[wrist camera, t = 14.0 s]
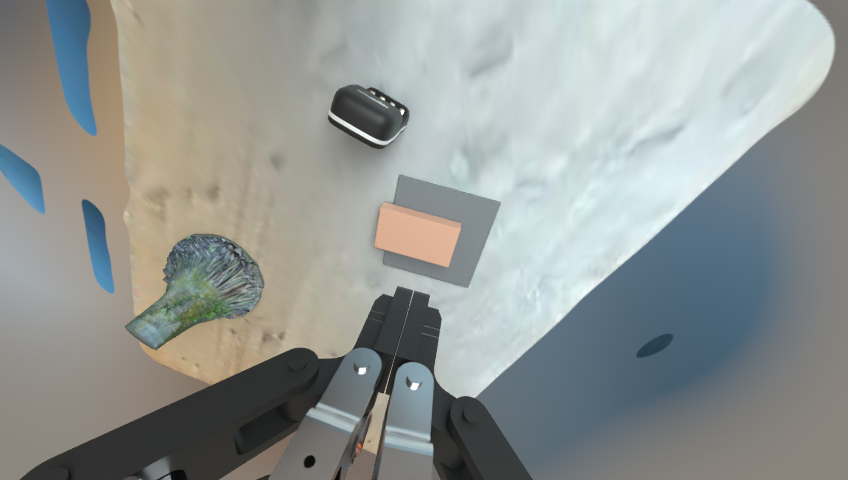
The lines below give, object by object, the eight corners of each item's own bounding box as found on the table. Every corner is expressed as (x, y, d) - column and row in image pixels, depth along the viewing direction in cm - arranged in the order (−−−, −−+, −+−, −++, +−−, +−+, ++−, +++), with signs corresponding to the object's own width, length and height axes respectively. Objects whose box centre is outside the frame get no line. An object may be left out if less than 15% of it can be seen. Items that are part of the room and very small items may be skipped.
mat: (383, 262, 53) (382, 263, 52) (400, 174, 45) (399, 175, 44) (468, 285, 53) (468, 287, 52) (500, 202, 44) (500, 203, 44)
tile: (374, 246, 48) (448, 267, 48) (380, 207, 45) (460, 229, 44) (378, 239, 50) (449, 259, 50) (384, 201, 47) (461, 222, 46)
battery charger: (417, 106, 40) (396, 120, 30) (404, 132, 42) (380, 154, 32) (369, 77, 39) (331, 81, 29) (358, 105, 41) (319, 119, 31)
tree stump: (287, 289, 61) (212, 373, 48) (243, 303, 72) (173, 374, 59) (212, 216, 54) (100, 292, 41) (176, 245, 65) (81, 311, 52)
